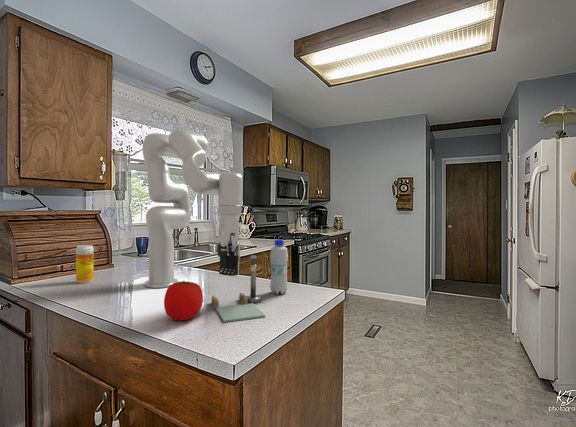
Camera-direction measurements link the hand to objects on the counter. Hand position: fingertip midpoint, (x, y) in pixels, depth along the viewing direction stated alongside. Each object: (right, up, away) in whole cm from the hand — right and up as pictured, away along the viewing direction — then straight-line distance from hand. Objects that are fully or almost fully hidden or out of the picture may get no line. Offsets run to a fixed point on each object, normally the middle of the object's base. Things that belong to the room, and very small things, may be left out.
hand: (228, 265), depth 103 cm
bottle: (+16, -13, +14) cm, 25 cm away
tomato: (-10, -13, -13) cm, 21 cm away
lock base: (+8, -13, +3) cm, 15 cm away
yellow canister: (-64, -12, +27) cm, 70 cm away
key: (+8, -11, 0) cm, 14 cm away
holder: (0, -13, 0) cm, 13 cm away
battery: (0, -4, 0) cm, 4 cm away
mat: (+5, -13, -9) cm, 16 cm away
